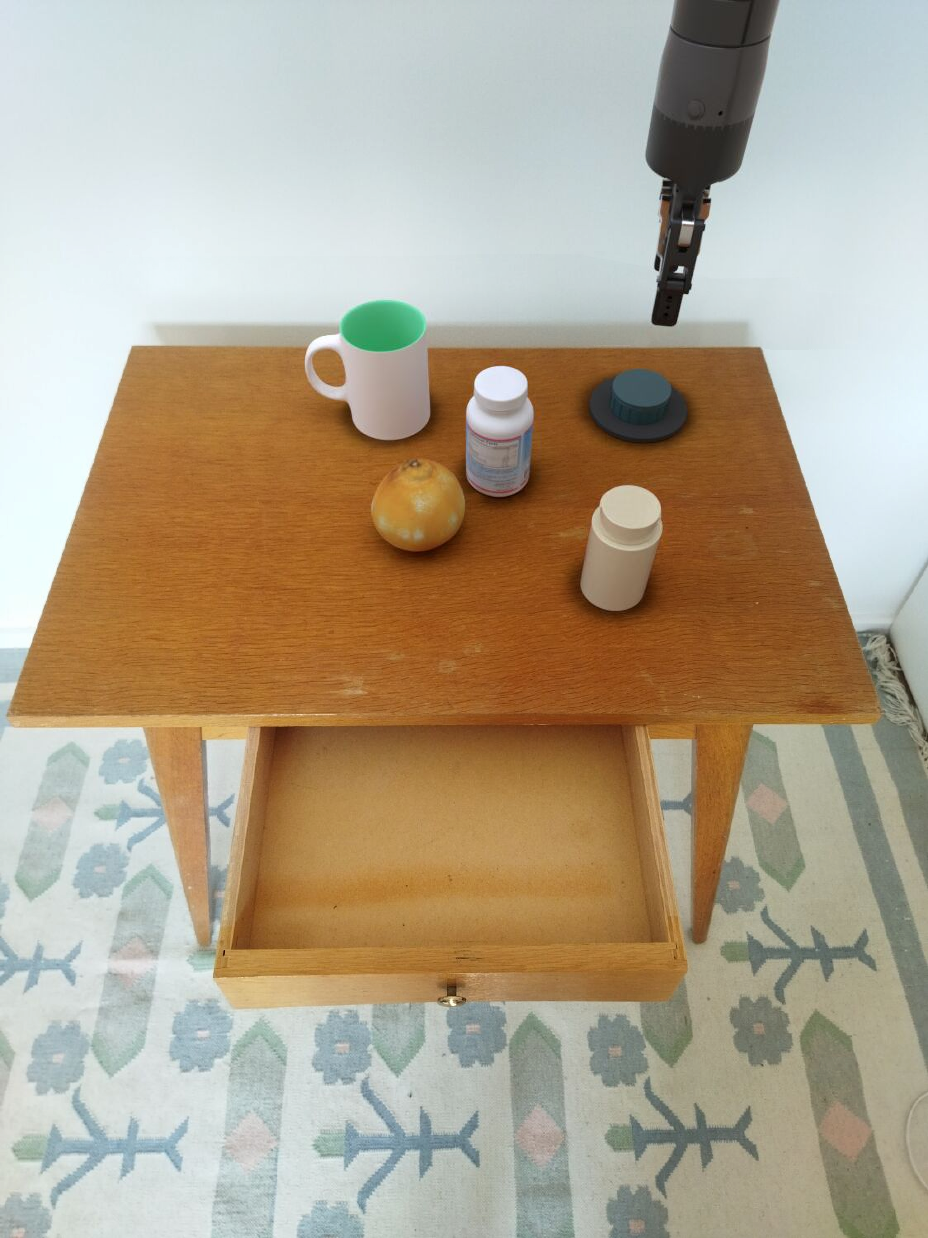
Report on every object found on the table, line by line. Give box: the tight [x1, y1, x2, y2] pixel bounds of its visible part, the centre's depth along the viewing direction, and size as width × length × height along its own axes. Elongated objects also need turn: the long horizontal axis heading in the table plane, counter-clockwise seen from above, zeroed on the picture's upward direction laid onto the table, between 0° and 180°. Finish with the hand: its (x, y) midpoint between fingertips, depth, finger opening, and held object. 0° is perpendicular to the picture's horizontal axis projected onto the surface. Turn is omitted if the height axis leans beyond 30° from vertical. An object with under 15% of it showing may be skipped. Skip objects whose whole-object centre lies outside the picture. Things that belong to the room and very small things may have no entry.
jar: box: [579, 484, 663, 612], centre depth 68 cm, size 6×6×10 cm
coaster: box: [588, 375, 688, 444], centre depth 85 cm, size 10×10×1 cm
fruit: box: [370, 457, 466, 552], centre depth 73 cm, size 8×8×8 cm
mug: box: [304, 299, 431, 441], centre depth 80 cm, size 12×8×10 cm
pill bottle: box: [465, 365, 535, 498], centre depth 75 cm, size 6×6×11 cm
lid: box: [609, 368, 672, 424], centre depth 84 cm, size 6×6×2 cm
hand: (664, 295), depth 74 cm, fingers open, 8 cm apart
